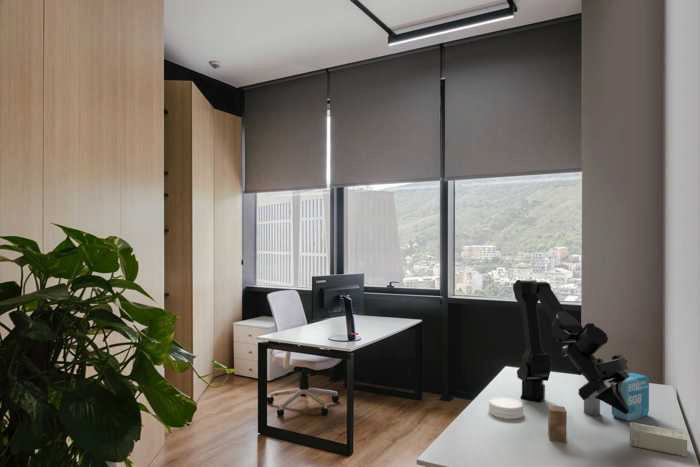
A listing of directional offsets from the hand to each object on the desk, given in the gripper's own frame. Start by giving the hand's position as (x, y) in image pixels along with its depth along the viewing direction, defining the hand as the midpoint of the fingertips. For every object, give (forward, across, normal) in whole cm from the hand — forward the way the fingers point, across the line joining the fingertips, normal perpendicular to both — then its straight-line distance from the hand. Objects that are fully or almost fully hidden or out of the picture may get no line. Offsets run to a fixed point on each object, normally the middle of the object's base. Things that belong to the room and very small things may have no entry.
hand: (627, 413), depth 122 cm
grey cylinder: (-5, +13, +16) cm, 22 cm away
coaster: (-16, -8, +28) cm, 33 cm away
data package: (0, +20, +11) cm, 23 cm away
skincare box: (+4, +1, +4) cm, 5 cm away
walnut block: (-3, -13, +14) cm, 19 cm away
